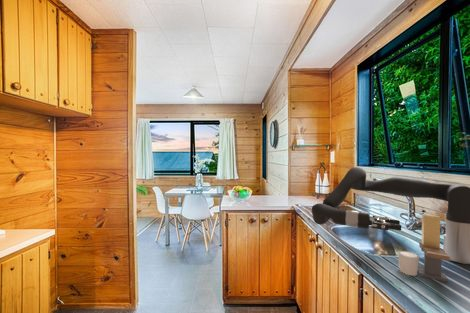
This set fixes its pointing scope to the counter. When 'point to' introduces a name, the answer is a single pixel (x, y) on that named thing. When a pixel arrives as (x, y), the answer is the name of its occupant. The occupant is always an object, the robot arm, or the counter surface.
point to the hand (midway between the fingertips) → (400, 225)
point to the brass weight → (431, 231)
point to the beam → (434, 252)
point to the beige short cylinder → (408, 262)
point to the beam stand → (432, 269)
